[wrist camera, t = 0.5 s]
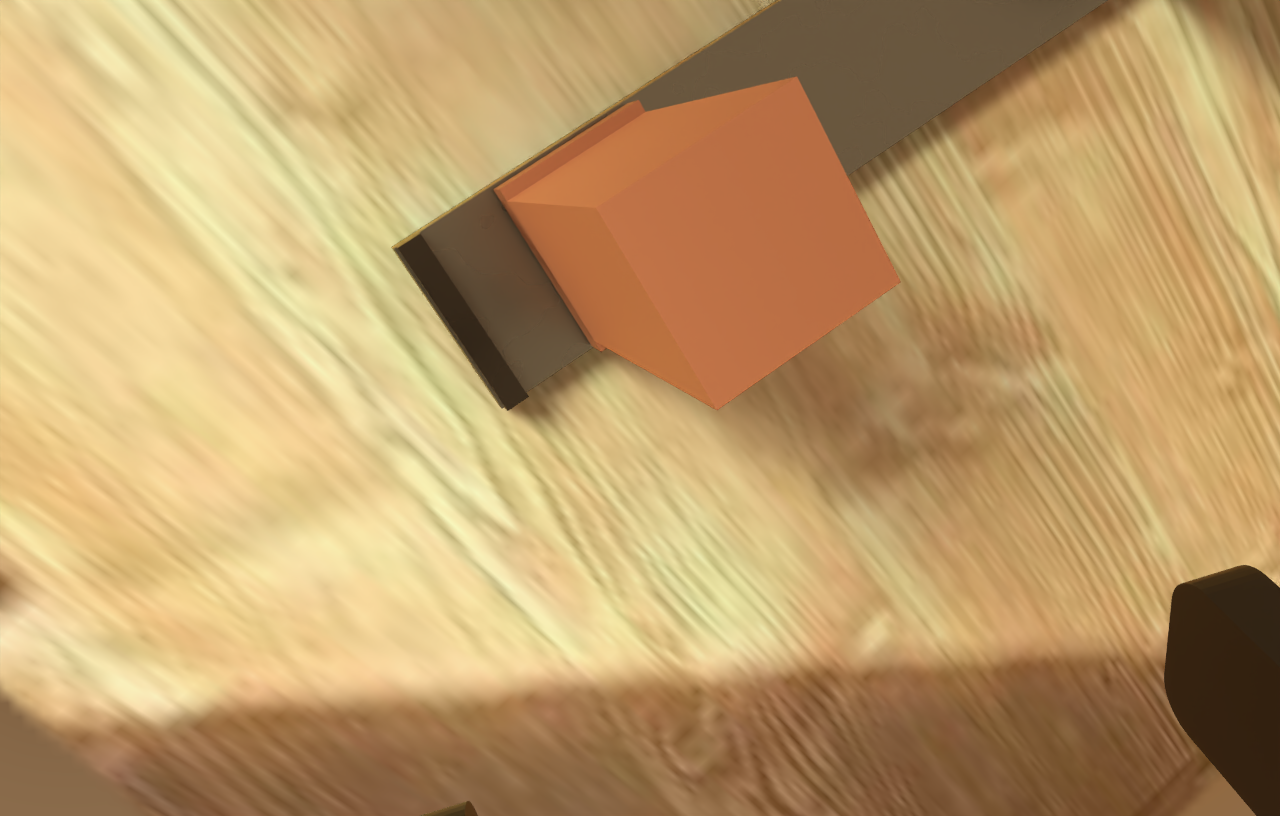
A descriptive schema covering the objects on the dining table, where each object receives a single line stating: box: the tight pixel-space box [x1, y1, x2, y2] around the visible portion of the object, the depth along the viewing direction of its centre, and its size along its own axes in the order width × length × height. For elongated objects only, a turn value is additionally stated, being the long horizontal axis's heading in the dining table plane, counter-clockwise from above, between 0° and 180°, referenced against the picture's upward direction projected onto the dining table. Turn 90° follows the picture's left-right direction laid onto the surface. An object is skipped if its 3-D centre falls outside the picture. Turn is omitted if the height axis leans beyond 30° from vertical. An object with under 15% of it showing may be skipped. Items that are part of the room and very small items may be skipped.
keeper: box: [493, 77, 900, 410], centre depth 28 cm, size 6×5×12 cm
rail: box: [392, 0, 1107, 411], centre depth 32 cm, size 6×31×8 cm, turn 122°
